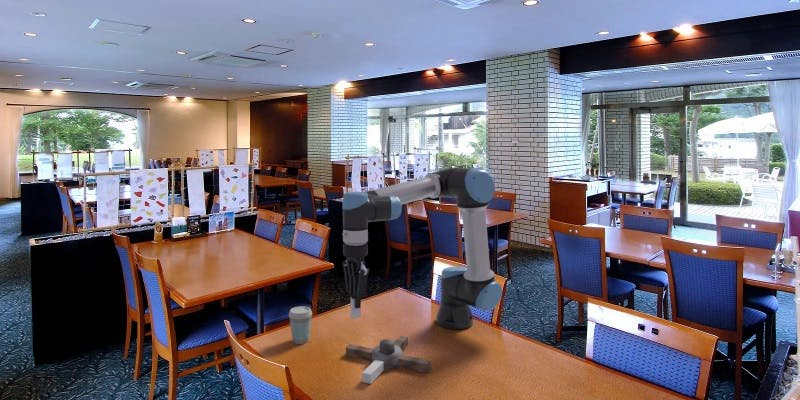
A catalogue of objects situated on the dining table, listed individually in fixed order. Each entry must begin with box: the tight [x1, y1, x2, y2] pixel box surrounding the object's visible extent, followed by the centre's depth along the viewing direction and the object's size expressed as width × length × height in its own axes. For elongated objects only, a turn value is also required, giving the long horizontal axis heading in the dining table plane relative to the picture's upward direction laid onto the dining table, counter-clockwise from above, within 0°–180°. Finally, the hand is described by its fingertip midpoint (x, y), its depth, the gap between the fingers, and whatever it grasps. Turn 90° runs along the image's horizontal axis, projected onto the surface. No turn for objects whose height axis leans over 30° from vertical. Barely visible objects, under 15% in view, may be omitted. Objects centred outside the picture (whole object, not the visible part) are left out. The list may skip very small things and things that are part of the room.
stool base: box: [345, 335, 432, 374], centre depth 151 cm, size 23×23×7 cm
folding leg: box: [361, 360, 384, 384], centre depth 141 cm, size 9×3×3 cm, turn 157°
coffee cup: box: [288, 305, 313, 345], centre depth 166 cm, size 8×8×12 cm
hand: (355, 316), depth 140 cm, fingers closed
